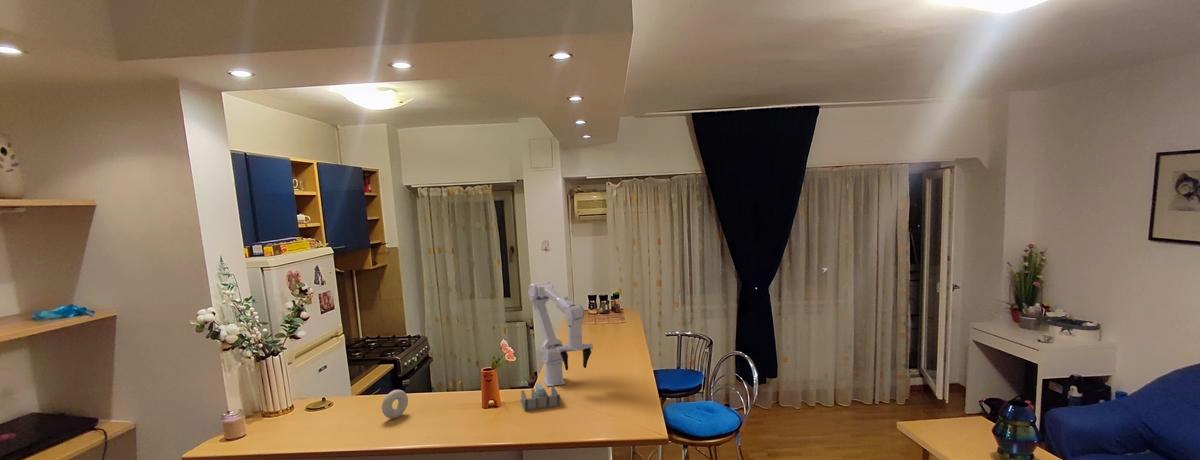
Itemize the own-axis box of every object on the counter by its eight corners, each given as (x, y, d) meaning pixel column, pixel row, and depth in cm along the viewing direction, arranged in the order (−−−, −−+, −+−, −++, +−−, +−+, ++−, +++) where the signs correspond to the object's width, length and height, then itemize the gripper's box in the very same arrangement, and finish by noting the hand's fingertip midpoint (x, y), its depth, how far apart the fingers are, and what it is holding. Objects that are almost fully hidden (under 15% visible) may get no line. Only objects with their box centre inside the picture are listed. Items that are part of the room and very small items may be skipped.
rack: (520, 401, 182) (520, 390, 182) (554, 396, 186) (554, 386, 186) (524, 411, 172) (524, 400, 172) (560, 405, 177) (560, 395, 176)
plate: (536, 398, 183) (535, 383, 183) (540, 397, 183) (540, 382, 183) (539, 405, 176) (538, 389, 176) (544, 404, 177) (543, 388, 176)
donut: (404, 411, 174) (403, 385, 174) (410, 413, 172) (409, 386, 172) (380, 421, 166) (379, 394, 165) (386, 424, 164) (385, 396, 163)
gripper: (559, 339, 183) (560, 373, 183) (595, 335, 188) (595, 369, 188) (555, 335, 190) (556, 368, 190) (589, 331, 194) (590, 364, 195)
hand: (575, 368), depth 190 cm, fingers open, 7 cm apart
